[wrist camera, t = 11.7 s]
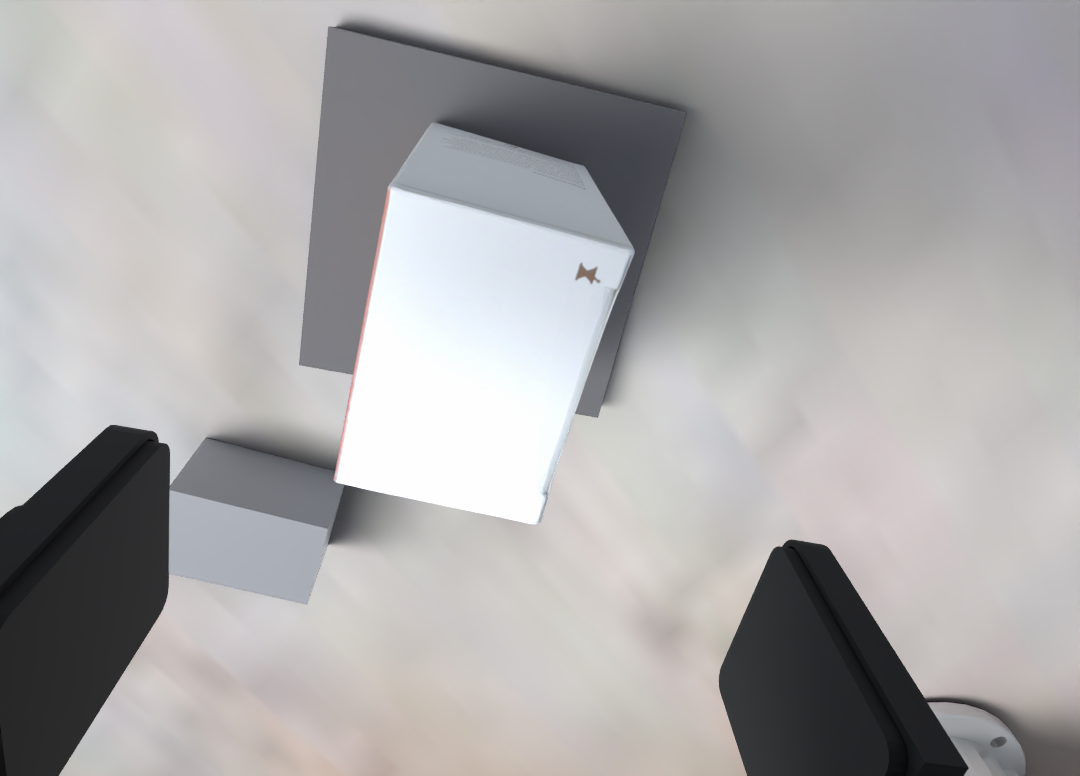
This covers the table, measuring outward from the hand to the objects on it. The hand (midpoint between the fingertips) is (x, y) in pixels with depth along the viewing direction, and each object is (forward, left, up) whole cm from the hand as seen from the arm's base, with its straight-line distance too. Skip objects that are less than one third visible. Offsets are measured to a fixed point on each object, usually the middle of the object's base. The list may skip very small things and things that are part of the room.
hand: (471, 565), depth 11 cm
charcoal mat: (0, 0, -18) cm, 18 cm away
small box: (0, 0, -17) cm, 17 cm away
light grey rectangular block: (+7, +13, -18) cm, 23 cm away
